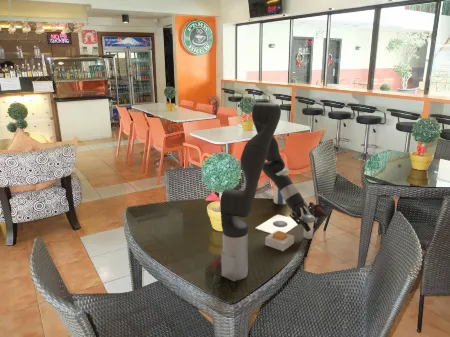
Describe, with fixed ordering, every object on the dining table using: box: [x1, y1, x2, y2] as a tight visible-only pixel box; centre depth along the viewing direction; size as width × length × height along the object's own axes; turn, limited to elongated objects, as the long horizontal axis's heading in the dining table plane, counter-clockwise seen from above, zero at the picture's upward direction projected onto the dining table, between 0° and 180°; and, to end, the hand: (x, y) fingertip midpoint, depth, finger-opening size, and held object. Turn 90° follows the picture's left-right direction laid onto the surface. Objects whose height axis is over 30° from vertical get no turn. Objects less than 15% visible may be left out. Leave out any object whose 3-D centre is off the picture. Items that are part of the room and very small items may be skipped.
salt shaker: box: [303, 214, 315, 240], centre depth 167 cm, size 4×4×10 cm
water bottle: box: [273, 167, 290, 205], centre depth 206 cm, size 8×9×25 cm
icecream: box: [308, 201, 327, 219], centre depth 189 cm, size 7×7×15 cm
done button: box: [273, 231, 288, 241], centre depth 162 cm, size 4×4×2 cm
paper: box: [255, 213, 299, 235], centre depth 181 cm, size 20×14×1 cm
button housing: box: [264, 230, 295, 252], centre depth 162 cm, size 9×9×4 cm
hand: (312, 229), depth 165 cm, fingers closed on salt shaker, 4 cm apart
